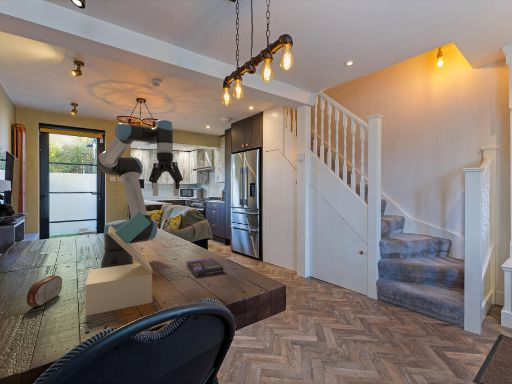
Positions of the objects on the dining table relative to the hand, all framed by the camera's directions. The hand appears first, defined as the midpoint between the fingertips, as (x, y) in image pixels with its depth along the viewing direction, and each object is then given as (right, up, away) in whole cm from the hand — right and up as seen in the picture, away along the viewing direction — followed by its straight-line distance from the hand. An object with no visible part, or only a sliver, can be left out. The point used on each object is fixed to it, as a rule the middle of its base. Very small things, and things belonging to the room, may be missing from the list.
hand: (165, 196), depth 131 cm
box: (+19, -37, +1) cm, 42 cm away
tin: (-31, -38, -35) cm, 60 cm away
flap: (-3, -19, -32) cm, 38 cm away
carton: (-5, -37, -33) cm, 50 cm away
